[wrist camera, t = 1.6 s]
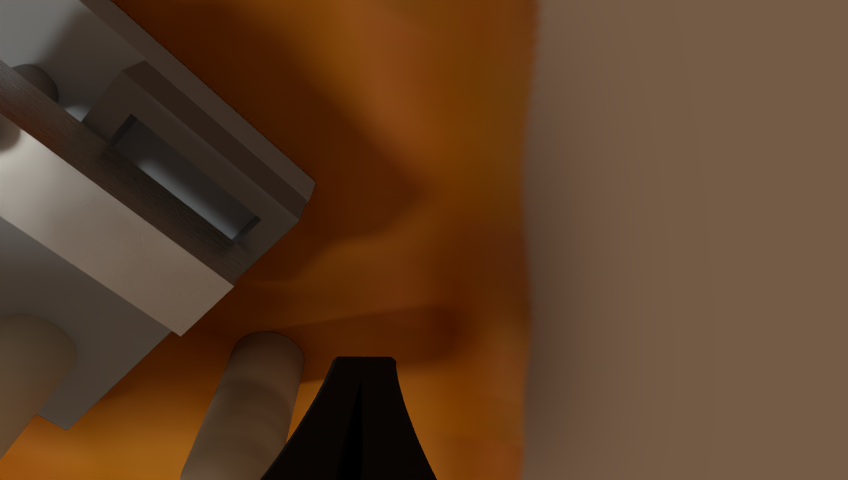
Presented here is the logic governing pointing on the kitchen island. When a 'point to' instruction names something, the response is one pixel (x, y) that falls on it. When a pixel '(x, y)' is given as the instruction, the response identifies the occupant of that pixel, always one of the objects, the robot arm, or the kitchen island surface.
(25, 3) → the board
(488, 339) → the kitchen island surface
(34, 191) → the bar
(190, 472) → the leg peg
